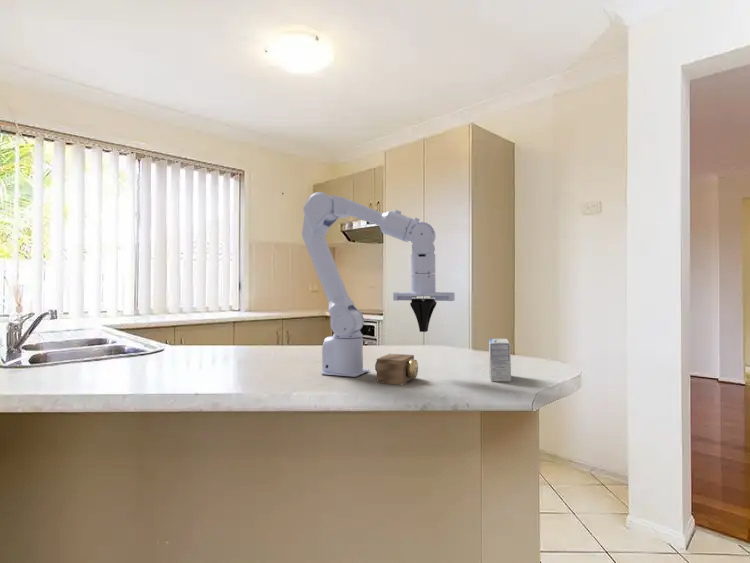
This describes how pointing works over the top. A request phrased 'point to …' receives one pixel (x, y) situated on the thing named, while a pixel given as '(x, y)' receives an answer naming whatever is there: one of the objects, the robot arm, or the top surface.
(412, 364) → the brass door knob
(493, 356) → the medicine box
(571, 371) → the top surface
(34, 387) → the top surface
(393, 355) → the block
